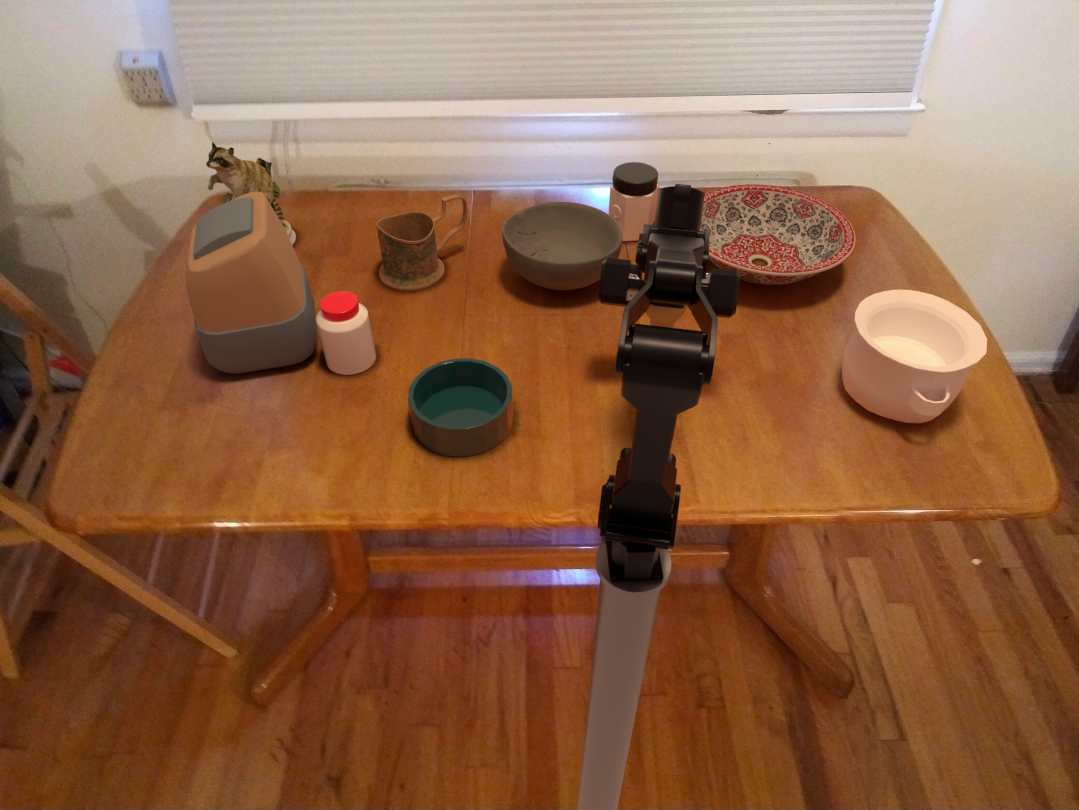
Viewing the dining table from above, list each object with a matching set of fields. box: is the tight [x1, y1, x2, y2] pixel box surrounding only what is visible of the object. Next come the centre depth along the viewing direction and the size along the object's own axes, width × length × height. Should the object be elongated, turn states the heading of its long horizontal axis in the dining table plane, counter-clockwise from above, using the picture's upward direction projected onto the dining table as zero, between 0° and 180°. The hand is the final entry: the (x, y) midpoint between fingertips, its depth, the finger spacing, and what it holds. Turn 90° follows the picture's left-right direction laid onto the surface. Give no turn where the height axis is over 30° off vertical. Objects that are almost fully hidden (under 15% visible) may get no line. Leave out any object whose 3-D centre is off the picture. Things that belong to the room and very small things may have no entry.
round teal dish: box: [407, 357, 514, 458], centre depth 111 cm, size 14×14×6 cm
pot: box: [841, 289, 988, 424], centre depth 113 cm, size 22×17×12 cm
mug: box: [375, 194, 468, 292], centre depth 136 cm, size 12×18×12 cm, turn 124°
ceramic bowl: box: [700, 183, 856, 286], centre depth 138 cm, size 29×29×8 cm
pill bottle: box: [315, 290, 377, 376], centre depth 118 cm, size 8×8×11 cm
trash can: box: [185, 192, 318, 374], centre depth 117 cm, size 17×17×23 cm
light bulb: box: [645, 305, 688, 328], centre depth 115 cm, size 6×6×10 cm
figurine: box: [205, 141, 297, 246], centre depth 139 cm, size 12×14×20 cm
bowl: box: [501, 201, 623, 291], centre depth 134 cm, size 20×20×10 cm
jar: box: [607, 161, 660, 242], centre depth 145 cm, size 9×8×12 cm
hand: (665, 298), depth 115 cm, fingers closed on light bulb, 6 cm apart
